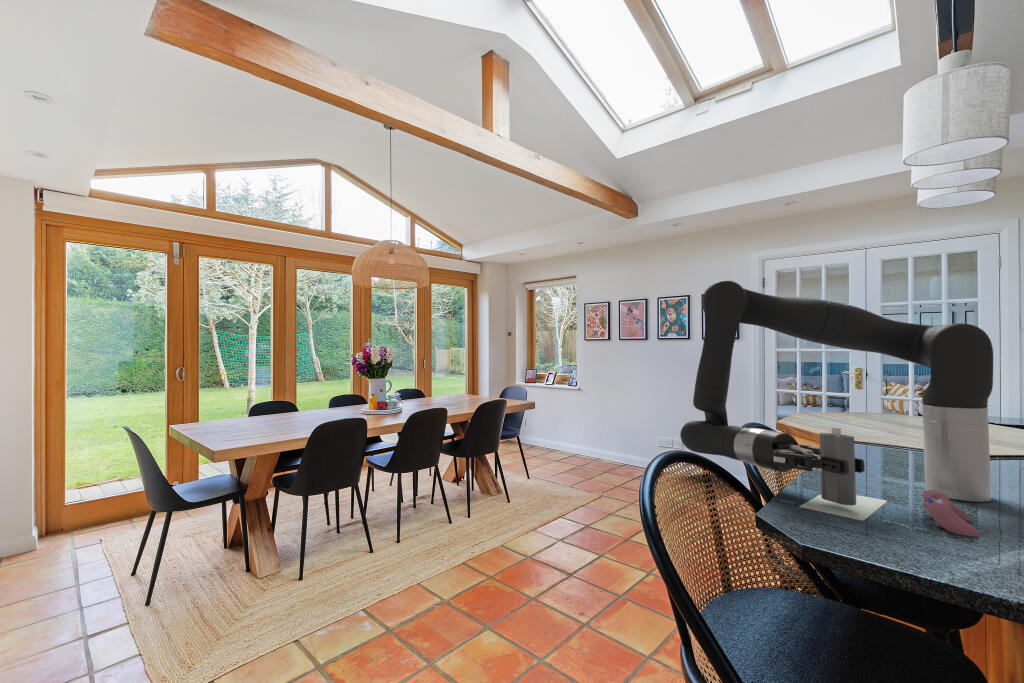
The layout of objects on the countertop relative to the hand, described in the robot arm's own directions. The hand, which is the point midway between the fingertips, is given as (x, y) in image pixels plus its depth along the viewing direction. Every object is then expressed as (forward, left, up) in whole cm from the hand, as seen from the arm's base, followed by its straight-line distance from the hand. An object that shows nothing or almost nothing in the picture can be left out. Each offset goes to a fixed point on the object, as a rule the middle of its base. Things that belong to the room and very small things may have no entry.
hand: (854, 467), depth 76 cm
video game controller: (-5, +10, -9) cm, 15 cm away
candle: (-1, -3, -6) cm, 7 cm away
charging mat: (-5, -3, -9) cm, 10 cm away
